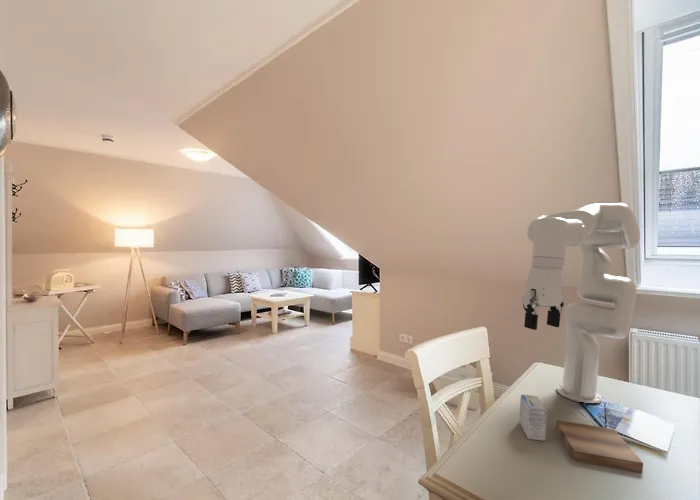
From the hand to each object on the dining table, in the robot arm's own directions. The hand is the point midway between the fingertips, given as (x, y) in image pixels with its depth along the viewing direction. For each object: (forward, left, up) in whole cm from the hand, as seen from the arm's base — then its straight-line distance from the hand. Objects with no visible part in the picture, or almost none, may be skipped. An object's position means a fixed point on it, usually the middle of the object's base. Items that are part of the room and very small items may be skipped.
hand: (541, 327), depth 92 cm
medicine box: (0, -1, -30) cm, 30 cm away
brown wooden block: (+3, +13, -29) cm, 32 cm away
